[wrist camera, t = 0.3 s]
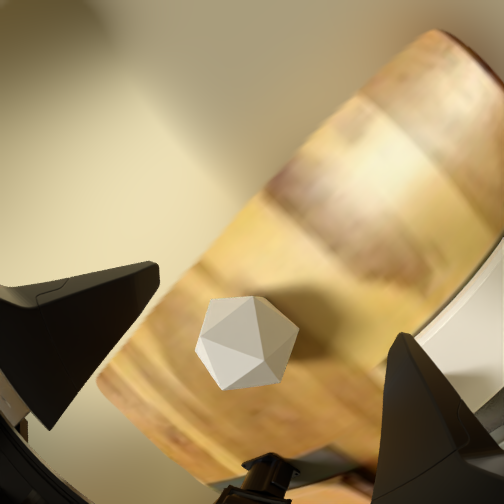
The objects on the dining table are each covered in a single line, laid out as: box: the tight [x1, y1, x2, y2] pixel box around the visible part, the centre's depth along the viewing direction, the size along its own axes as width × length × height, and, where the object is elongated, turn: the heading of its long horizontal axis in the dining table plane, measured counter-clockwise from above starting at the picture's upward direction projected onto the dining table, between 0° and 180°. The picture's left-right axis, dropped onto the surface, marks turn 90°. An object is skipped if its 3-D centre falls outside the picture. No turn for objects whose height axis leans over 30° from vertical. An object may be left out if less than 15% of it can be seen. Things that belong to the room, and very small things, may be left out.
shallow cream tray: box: [414, 237, 504, 413], centre depth 18 cm, size 16×16×1 cm
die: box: [195, 296, 299, 390], centre depth 23 cm, size 8×9×10 cm
